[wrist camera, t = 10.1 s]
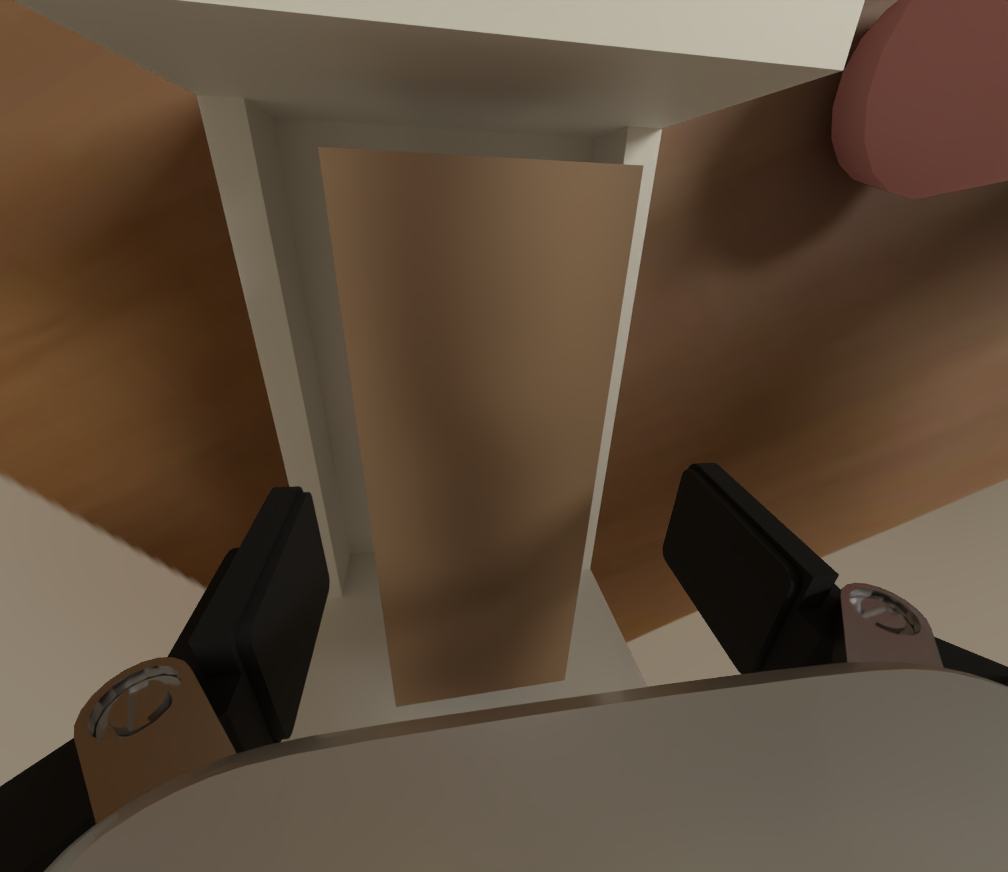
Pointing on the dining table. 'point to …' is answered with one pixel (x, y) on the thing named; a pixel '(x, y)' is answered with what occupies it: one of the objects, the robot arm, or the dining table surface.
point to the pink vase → (927, 99)
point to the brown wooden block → (478, 396)
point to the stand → (440, 130)
